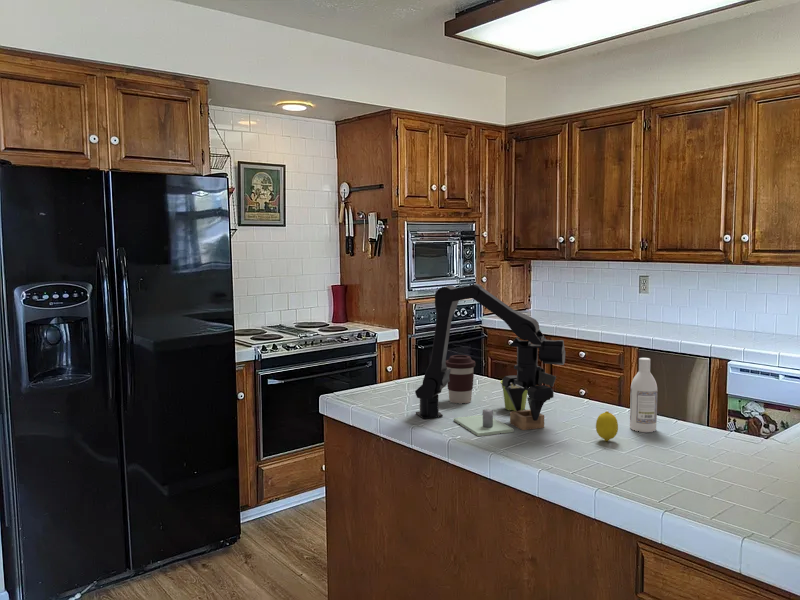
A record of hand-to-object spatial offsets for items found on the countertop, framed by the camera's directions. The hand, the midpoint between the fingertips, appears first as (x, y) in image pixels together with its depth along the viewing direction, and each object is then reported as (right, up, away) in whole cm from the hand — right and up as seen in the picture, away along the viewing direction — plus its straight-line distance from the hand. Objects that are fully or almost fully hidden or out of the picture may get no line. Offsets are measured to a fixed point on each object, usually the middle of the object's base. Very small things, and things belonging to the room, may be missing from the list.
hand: (526, 416), depth 182 cm
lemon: (+18, -4, -14) cm, 24 cm away
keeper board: (-13, -3, 0) cm, 13 cm away
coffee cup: (-16, 0, +28) cm, 33 cm away
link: (0, -3, 0) cm, 3 cm away
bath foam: (+31, -3, -4) cm, 32 cm away
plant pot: (0, -1, +18) cm, 18 cm away
